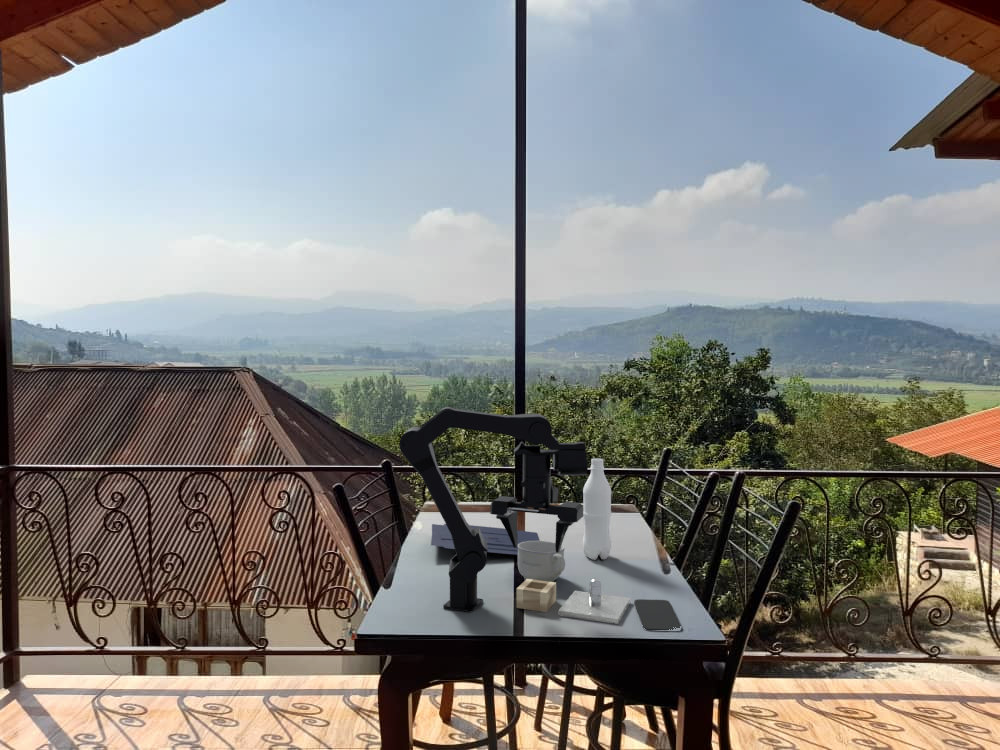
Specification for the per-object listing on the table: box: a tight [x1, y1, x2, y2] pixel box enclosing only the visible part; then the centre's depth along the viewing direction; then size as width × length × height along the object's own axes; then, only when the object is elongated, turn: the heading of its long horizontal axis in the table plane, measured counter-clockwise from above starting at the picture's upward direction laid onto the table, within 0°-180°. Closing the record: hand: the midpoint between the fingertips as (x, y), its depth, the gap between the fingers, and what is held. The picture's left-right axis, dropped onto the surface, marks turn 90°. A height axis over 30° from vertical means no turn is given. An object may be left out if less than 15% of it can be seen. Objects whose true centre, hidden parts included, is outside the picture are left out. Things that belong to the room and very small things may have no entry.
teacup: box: [517, 540, 566, 582], centre depth 160 cm, size 14×11×8 cm
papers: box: [430, 523, 541, 556], centre depth 187 cm, size 24×30×4 cm
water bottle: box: [582, 457, 613, 561], centre depth 178 cm, size 7×7×25 cm
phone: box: [633, 598, 682, 631], centre depth 140 cm, size 7×1×15 cm
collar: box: [516, 579, 557, 613], centre depth 146 cm, size 6×6×4 cm
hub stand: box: [558, 578, 631, 625], centre depth 144 cm, size 12×12×6 cm
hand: (536, 549), depth 146 cm, fingers open, 9 cm apart
